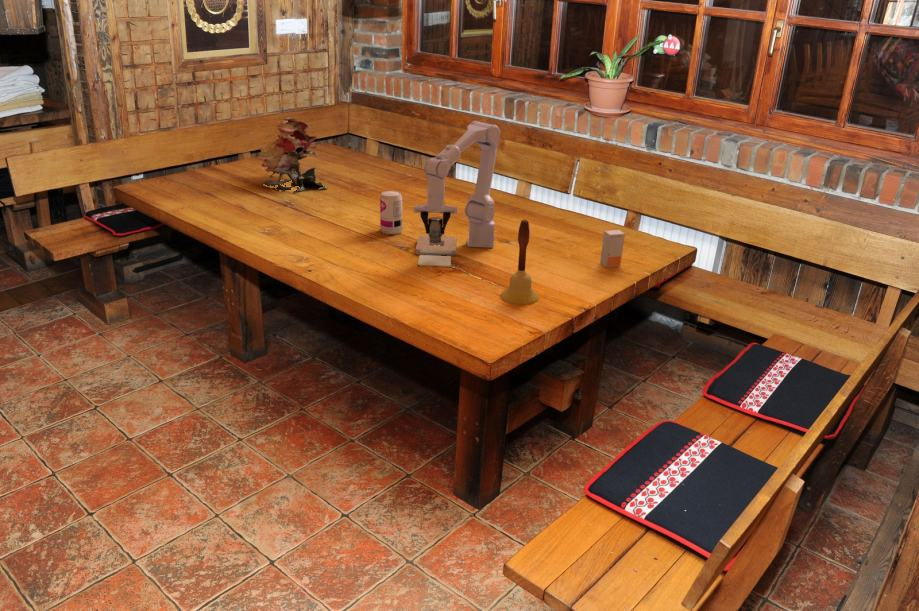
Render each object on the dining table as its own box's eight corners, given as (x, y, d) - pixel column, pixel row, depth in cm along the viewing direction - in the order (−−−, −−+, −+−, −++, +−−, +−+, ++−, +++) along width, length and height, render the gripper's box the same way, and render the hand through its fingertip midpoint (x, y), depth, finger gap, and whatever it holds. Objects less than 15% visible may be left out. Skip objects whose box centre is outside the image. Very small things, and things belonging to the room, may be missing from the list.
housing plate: (456, 242, 284) (456, 237, 283) (455, 256, 271) (455, 250, 270) (418, 240, 284) (418, 235, 283) (415, 254, 271) (415, 249, 271)
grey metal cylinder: (442, 239, 266) (442, 217, 263) (441, 244, 262) (442, 221, 258) (428, 238, 266) (428, 216, 263) (427, 243, 262) (428, 221, 258)
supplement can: (382, 236, 288) (382, 197, 281) (378, 228, 295) (378, 190, 289) (404, 234, 290) (404, 196, 283) (399, 227, 297) (399, 189, 291)
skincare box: (605, 267, 265) (609, 234, 260) (599, 263, 269) (603, 230, 264) (621, 266, 267) (625, 233, 262) (615, 261, 271) (619, 229, 266)
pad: (451, 257, 270) (451, 256, 270) (450, 267, 262) (450, 265, 262) (419, 256, 270) (419, 254, 270) (417, 265, 262) (417, 264, 262)
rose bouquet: (301, 174, 361) (297, 109, 348) (333, 188, 341) (331, 120, 328) (250, 182, 346) (244, 115, 333) (281, 198, 326) (276, 127, 313)
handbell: (534, 288, 248) (539, 213, 237) (543, 304, 237) (550, 227, 226) (496, 289, 246) (500, 214, 235) (504, 306, 235) (508, 228, 224)
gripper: (413, 197, 253) (412, 236, 259) (457, 198, 253) (456, 237, 259) (414, 191, 260) (414, 229, 265) (457, 192, 259) (456, 230, 265)
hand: (435, 233), depth 262 cm, fingers closed on grey metal cylinder, 5 cm apart
